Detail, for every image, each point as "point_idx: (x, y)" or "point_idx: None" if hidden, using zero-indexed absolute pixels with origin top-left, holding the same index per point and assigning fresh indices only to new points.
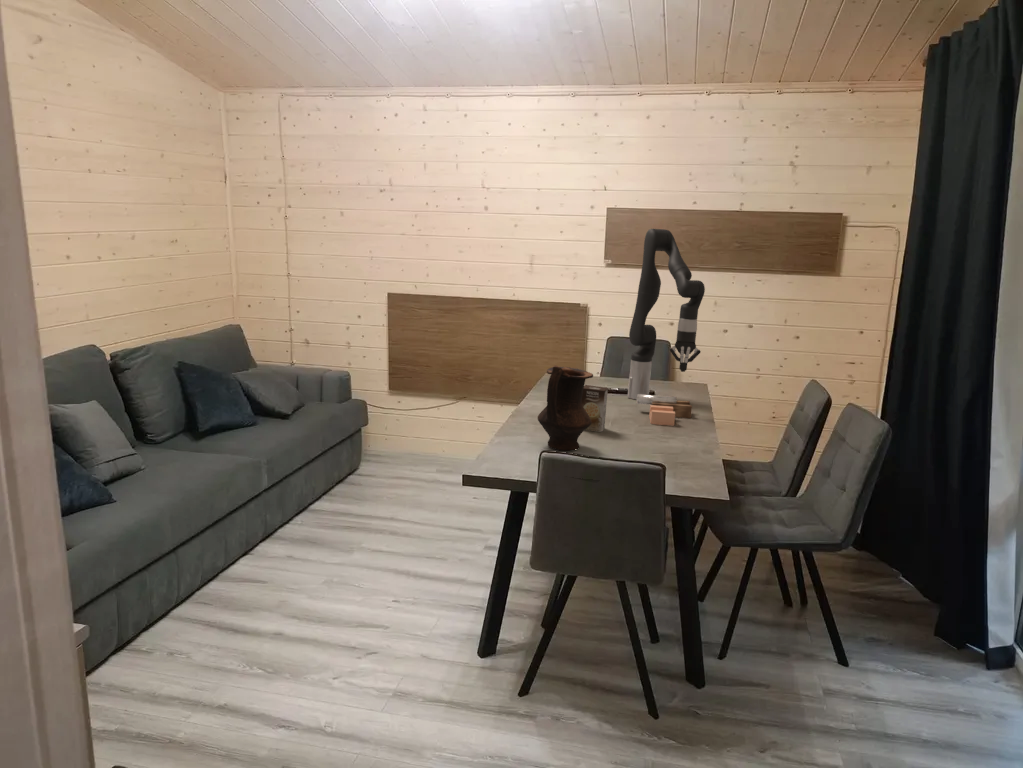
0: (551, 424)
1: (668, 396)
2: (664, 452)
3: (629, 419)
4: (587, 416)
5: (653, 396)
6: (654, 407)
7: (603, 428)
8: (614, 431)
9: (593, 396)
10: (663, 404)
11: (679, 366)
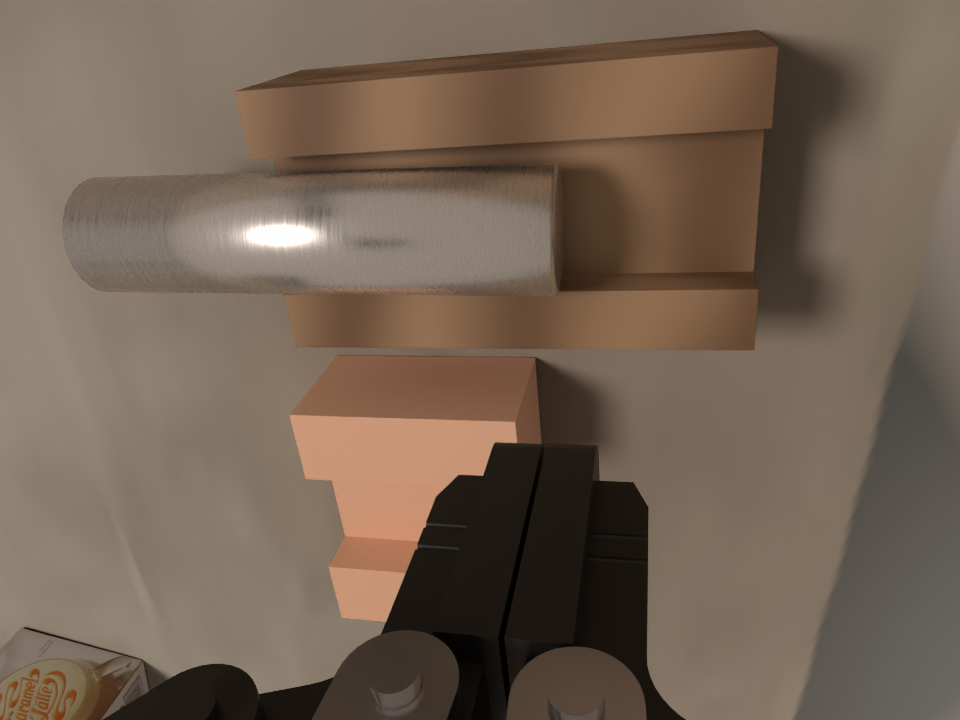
0: None
1: (437, 258)
2: None
3: (214, 463)
4: None
5: (258, 282)
6: (341, 479)
7: (144, 689)
8: None
9: None
10: (413, 346)
11: (422, 531)
